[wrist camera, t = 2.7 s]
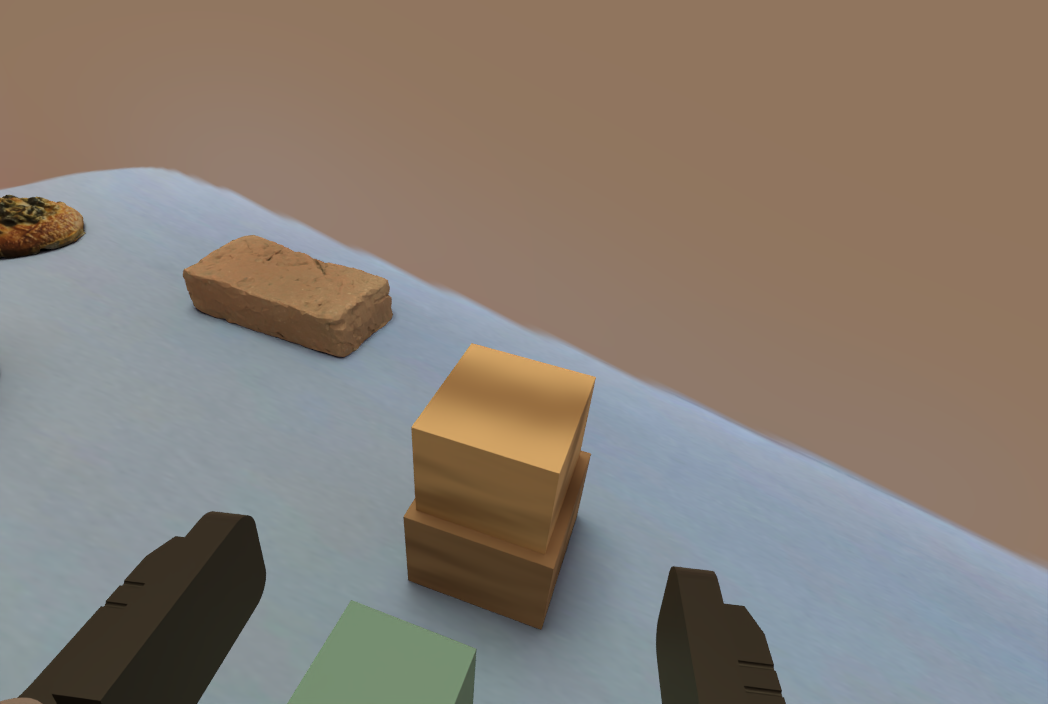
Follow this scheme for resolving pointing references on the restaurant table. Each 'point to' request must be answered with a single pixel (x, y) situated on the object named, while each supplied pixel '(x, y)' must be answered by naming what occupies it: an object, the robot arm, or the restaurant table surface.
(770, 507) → the restaurant table surface
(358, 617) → the teal pillar
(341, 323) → the brick
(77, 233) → the bread roll
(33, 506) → the restaurant table surface
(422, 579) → the walnut base block
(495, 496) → the oak top block
